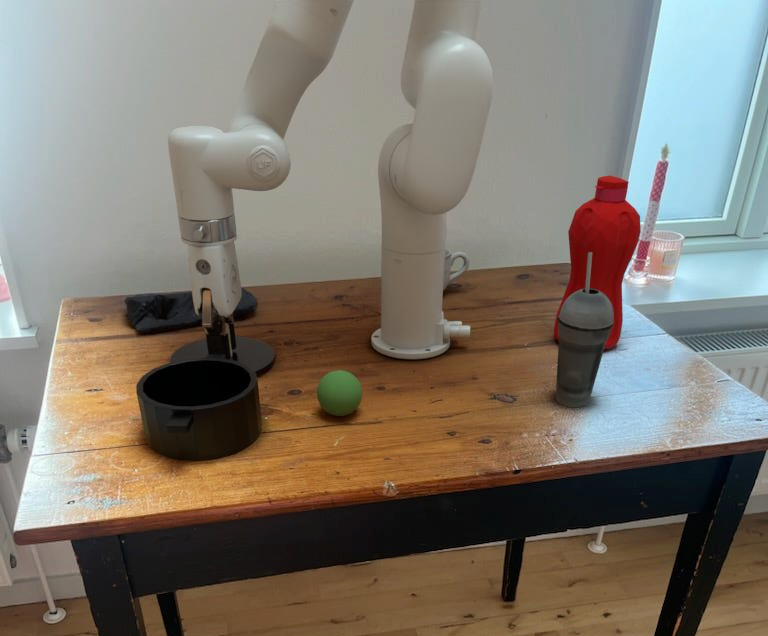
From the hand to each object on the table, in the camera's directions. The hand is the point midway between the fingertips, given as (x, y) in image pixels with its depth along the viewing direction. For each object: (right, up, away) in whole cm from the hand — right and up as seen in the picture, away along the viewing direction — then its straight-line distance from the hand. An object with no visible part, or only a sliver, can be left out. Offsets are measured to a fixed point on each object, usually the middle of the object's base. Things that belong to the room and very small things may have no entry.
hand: (223, 352), depth 113 cm
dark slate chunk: (-9, +10, +18) cm, 22 cm away
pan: (+1, -14, -16) cm, 21 cm away
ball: (+18, -8, -14) cm, 24 cm away
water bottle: (+58, +3, +9) cm, 58 cm away
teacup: (+33, +16, +27) cm, 45 cm away
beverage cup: (+51, -8, -8) cm, 52 cm away
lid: (0, -1, +1) cm, 1 cm away
